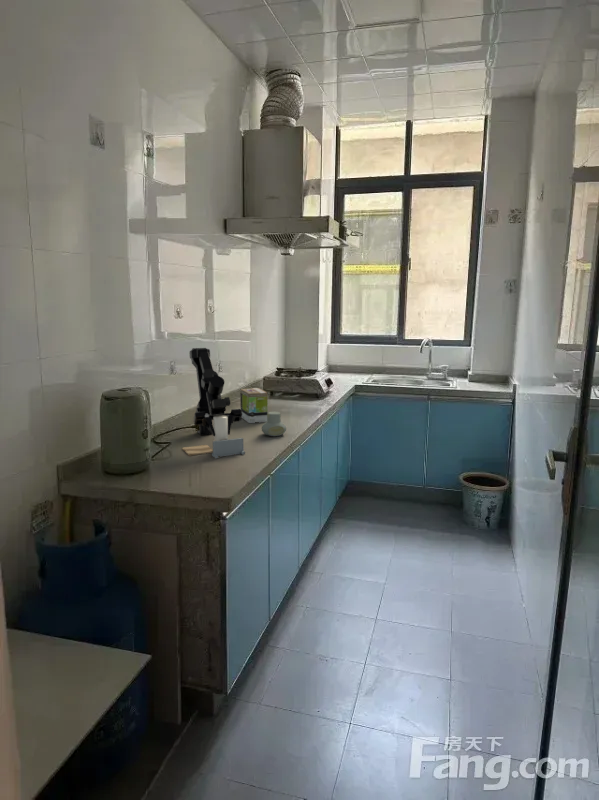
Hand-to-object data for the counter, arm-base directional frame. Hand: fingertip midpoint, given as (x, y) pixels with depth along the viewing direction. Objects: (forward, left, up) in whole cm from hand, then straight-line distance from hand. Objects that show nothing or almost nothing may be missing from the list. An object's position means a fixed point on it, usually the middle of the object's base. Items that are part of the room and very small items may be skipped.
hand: (221, 435), depth 209 cm
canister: (-1, 0, -7) cm, 7 cm away
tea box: (-46, +32, -7) cm, 57 cm away
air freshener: (-15, +29, -7) cm, 34 cm away
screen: (+4, +1, -7) cm, 8 cm away
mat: (-6, -8, -7) cm, 12 cm away
